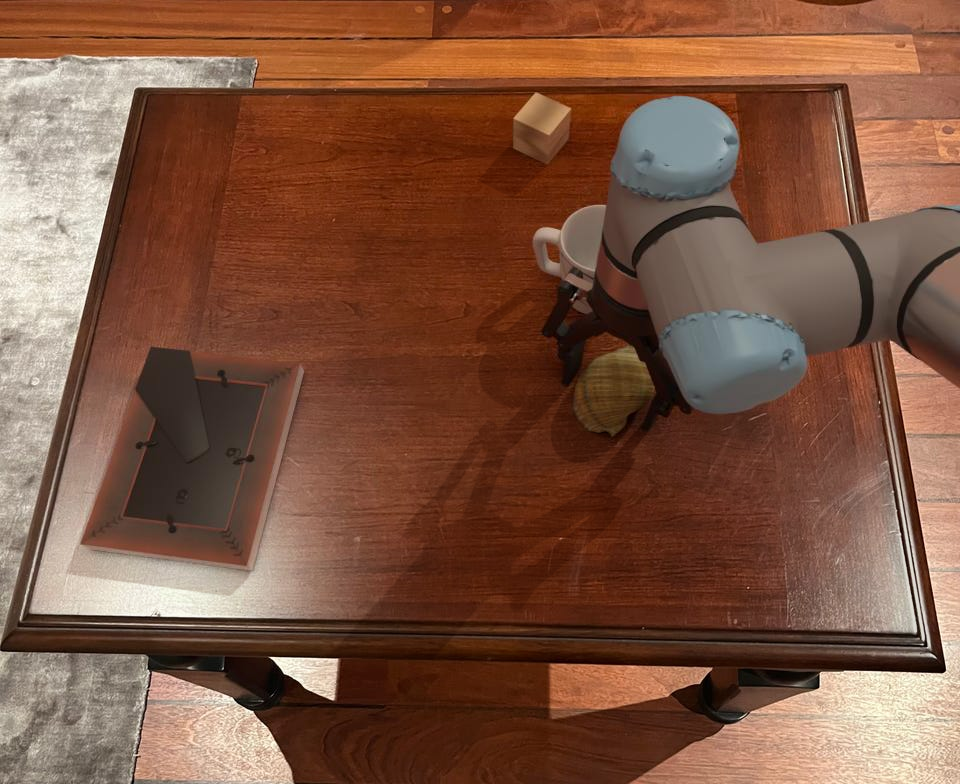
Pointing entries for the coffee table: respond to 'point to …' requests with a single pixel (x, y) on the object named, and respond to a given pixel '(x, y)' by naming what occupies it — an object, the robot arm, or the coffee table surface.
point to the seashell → (612, 390)
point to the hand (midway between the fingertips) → (610, 397)
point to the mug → (573, 246)
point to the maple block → (541, 128)
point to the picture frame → (196, 459)
